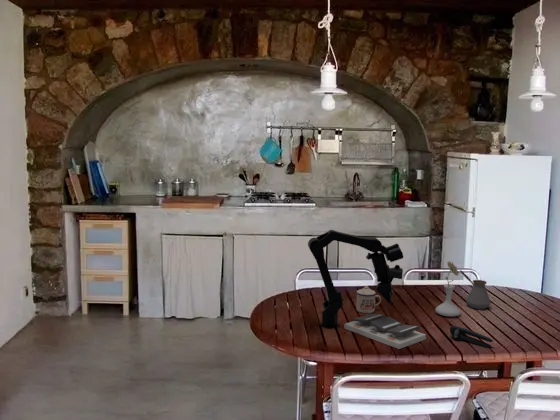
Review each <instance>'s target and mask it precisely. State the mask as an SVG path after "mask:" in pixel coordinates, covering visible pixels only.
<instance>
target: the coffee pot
mask: <svg viewBox="0 0 560 420" xmlns="http://www.w3.org/2000/svg"><path fill="white" fill-rule="evenodd" d="M459 272H460V273H458V274H459V275H460V274H462V275H463V277H464V278H465V279H466V280H468V281H469V282H470V283H471V285H472V287H471V290H470V291H469V293H468V295H467V297H466V299H465V302H466V304H467V305H468V306H469V307H470V308H471V309H475V310H485V309H487V308H489V307H490V305H491V304H492V303H491V299H490V297H489V293H488V291H487V287H486V285H487V283H488V282H487V281H486V280H481V279H474V280H471V278H470V277H469V276H468V275H467V274H465V272H464V271H462V269H461V270H459Z"/></svg>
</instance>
